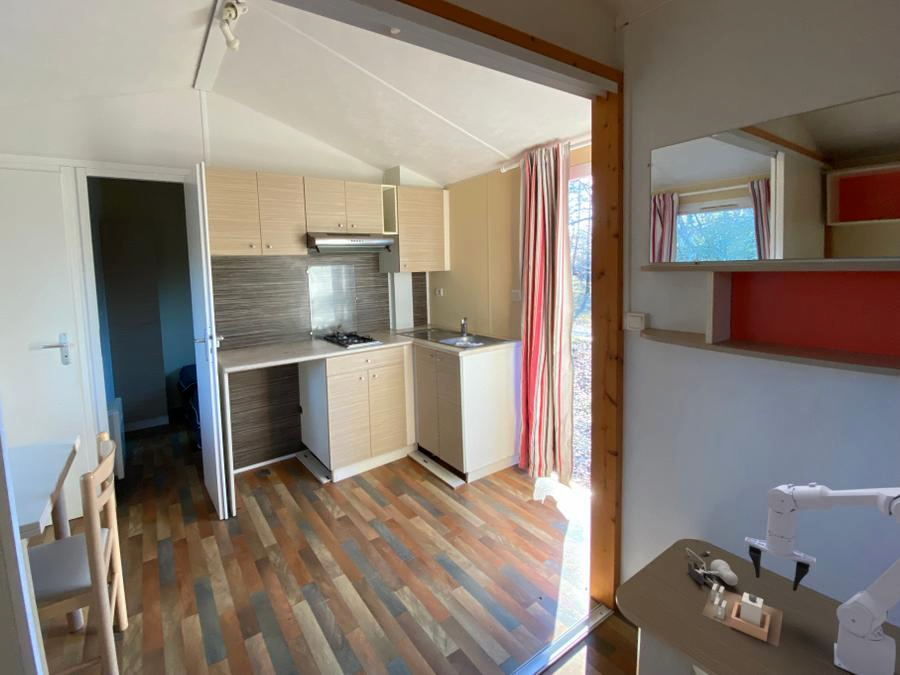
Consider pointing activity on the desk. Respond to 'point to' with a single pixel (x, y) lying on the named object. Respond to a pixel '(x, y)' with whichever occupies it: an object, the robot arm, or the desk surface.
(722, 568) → the clip-on lamp
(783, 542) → the robot arm
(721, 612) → the clips
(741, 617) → the connector plug
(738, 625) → the frame
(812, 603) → the desk surface
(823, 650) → the desk surface
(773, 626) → the board
